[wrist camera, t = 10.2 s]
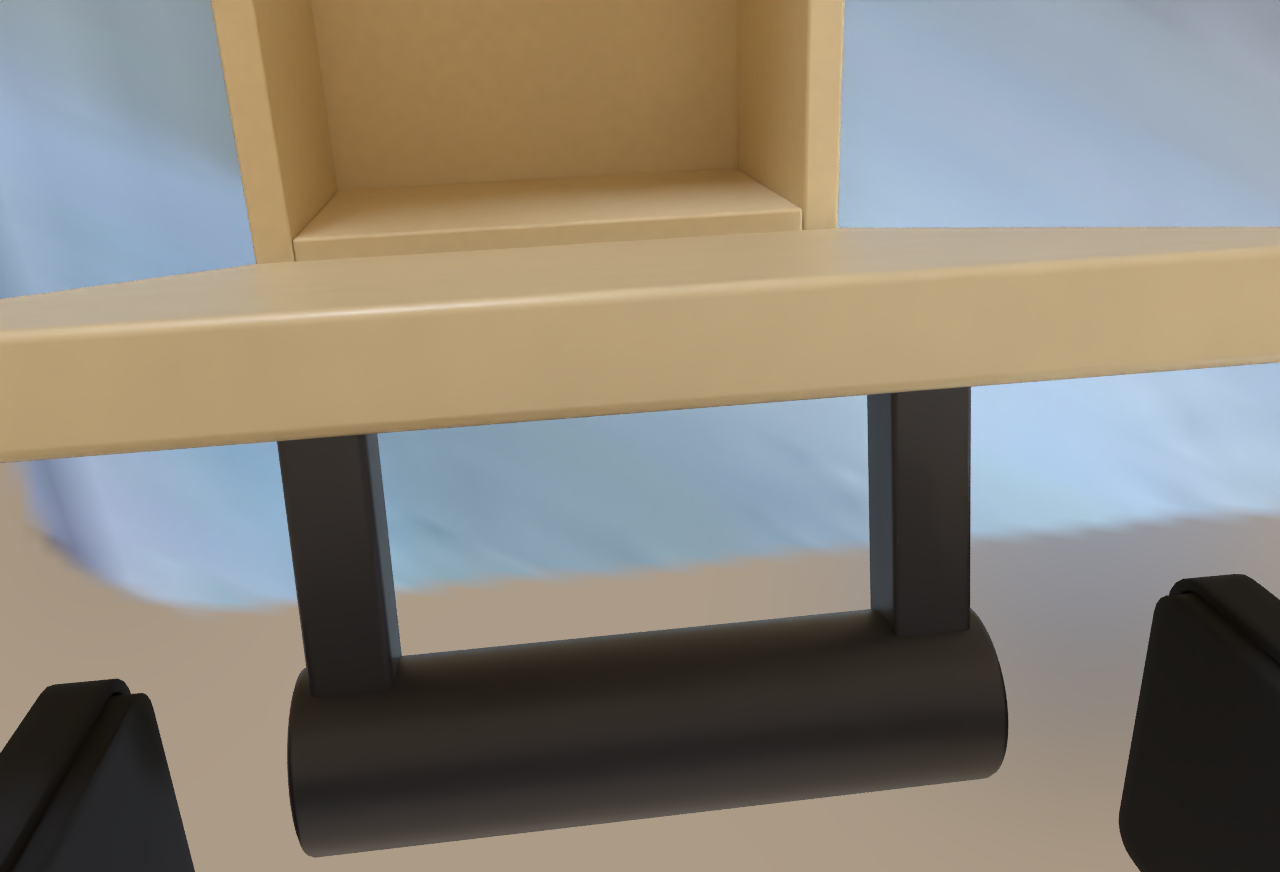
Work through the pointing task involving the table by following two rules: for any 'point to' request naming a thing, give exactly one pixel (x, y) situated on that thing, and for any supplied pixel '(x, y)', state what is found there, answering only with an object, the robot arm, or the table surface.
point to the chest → (529, 121)
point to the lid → (608, 385)
